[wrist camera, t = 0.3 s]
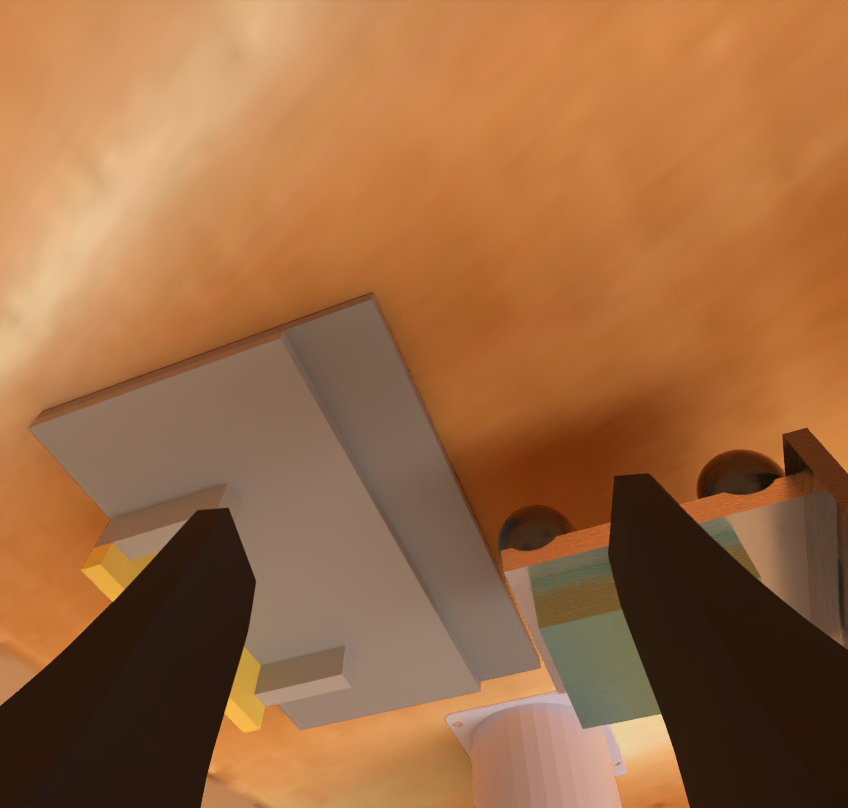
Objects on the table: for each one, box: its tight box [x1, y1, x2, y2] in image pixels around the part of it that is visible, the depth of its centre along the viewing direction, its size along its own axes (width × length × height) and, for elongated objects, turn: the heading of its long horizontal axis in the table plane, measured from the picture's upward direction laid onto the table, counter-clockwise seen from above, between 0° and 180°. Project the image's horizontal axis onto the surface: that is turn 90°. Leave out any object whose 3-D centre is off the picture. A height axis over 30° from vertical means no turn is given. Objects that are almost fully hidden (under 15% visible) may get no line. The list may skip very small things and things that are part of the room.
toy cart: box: [498, 428, 848, 729], centre depth 18 cm, size 9×9×5 cm
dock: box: [27, 293, 541, 733], centre depth 24 cm, size 20×12×3 cm, turn 21°
